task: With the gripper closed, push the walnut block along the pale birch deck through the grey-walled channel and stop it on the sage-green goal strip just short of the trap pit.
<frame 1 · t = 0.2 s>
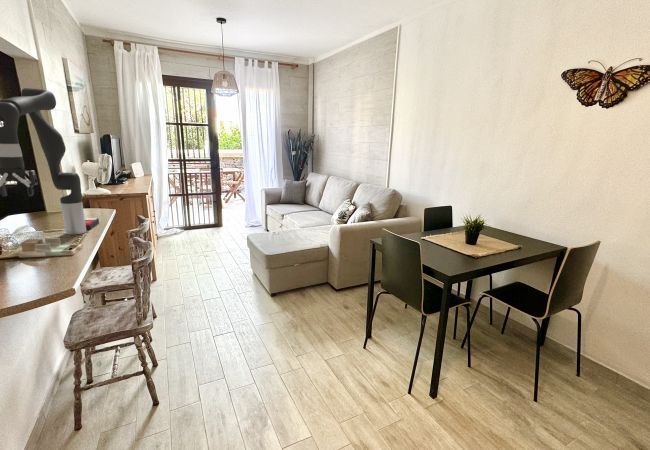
hand: (17, 195, 131), 28 cm above the breakfast bar, fingers open, 8 cm apart
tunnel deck: (52, 252, 148), on the breakfast bar
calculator: (84, 227, 191), on the breakfast bar
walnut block: (33, 249, 146), point 2 cm above the breakfast bar, touching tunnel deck
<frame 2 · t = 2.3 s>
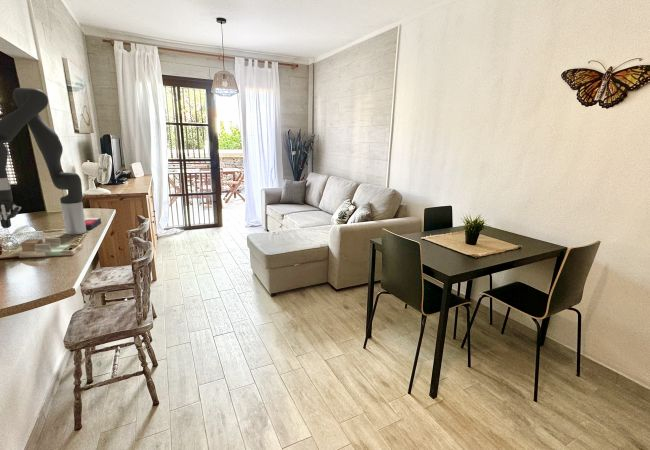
hand: (6, 227, 141), 13 cm above the breakfast bar, fingers closed
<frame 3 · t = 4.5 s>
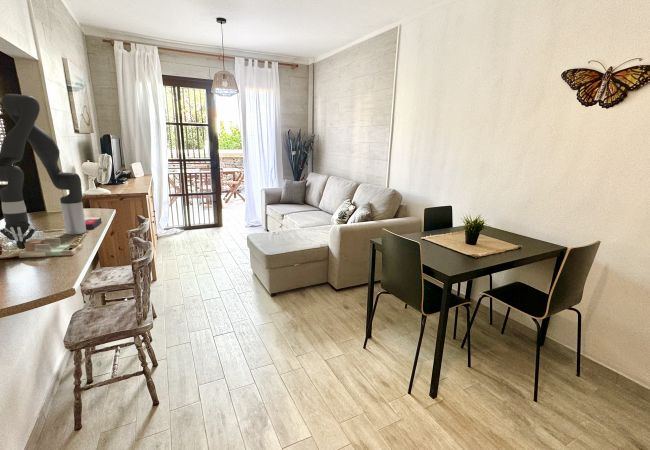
hand: (22, 248, 145), 3 cm above the breakfast bar, fingers closed
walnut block: (36, 249, 146), point 2 cm above the breakfast bar, touching gripper, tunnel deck
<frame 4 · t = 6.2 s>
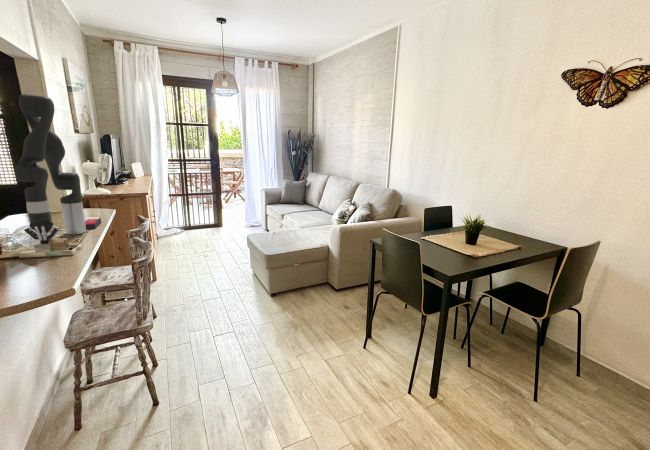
hand: (45, 247, 147), 3 cm above the breakfast bar, fingers closed
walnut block: (59, 248, 148), point 2 cm above the breakfast bar, touching gripper, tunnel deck
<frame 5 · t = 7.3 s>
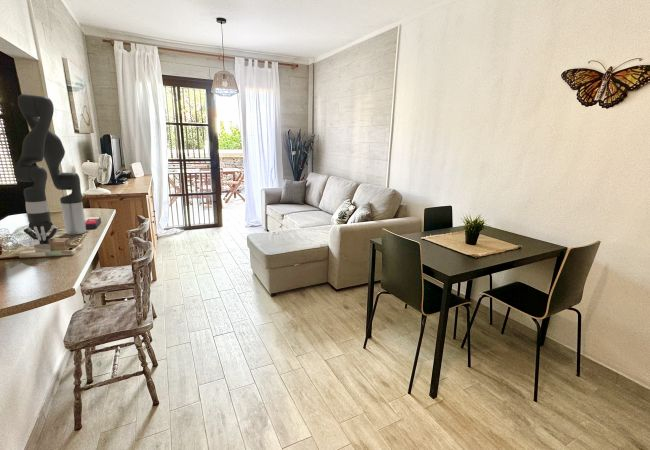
hand: (45, 247, 147), 3 cm above the breakfast bar, fingers closed
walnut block: (60, 248, 148), point 2 cm above the breakfast bar, touching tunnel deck
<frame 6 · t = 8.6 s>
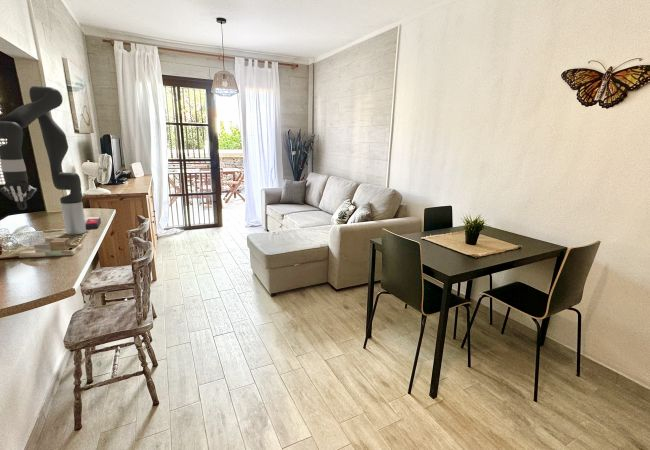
hand: (22, 209, 142), 20 cm above the breakfast bar, fingers closed
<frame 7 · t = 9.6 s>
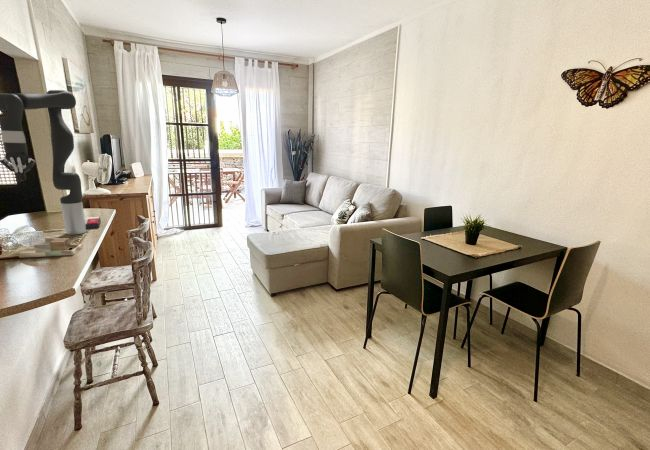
hand: (22, 180, 146), 32 cm above the breakfast bar, fingers closed
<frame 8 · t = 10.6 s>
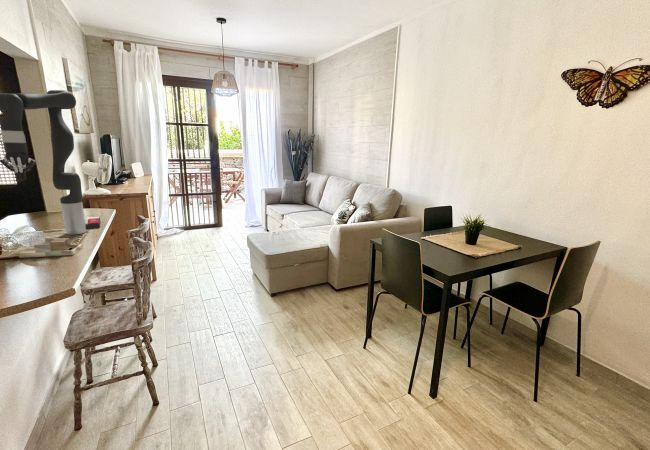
hand: (22, 180, 146), 32 cm above the breakfast bar, fingers closed
at the end: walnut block 0.9 cm from the target spot on the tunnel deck, point 2.0 cm above the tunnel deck's base; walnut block tilted 0°; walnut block moved 10.7 cm from its start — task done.
